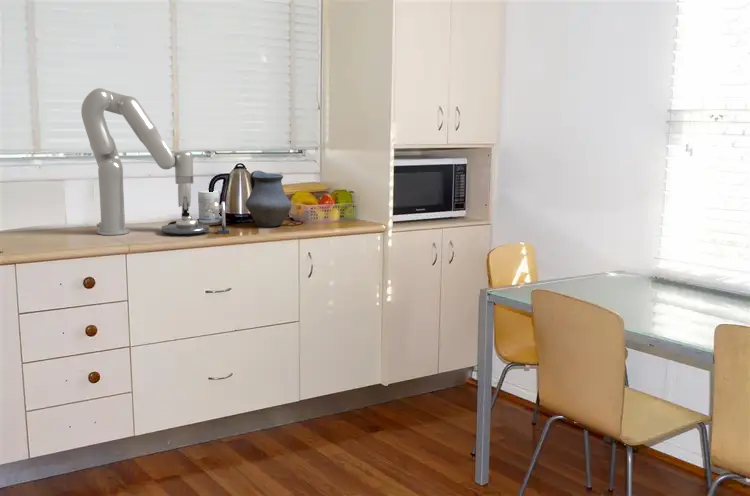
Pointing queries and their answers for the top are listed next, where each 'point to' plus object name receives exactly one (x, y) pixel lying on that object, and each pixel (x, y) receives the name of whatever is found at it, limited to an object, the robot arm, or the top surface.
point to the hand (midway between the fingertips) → (185, 222)
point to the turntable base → (186, 234)
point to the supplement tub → (203, 202)
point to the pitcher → (267, 199)
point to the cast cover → (187, 222)
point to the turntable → (185, 229)
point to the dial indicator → (214, 207)
